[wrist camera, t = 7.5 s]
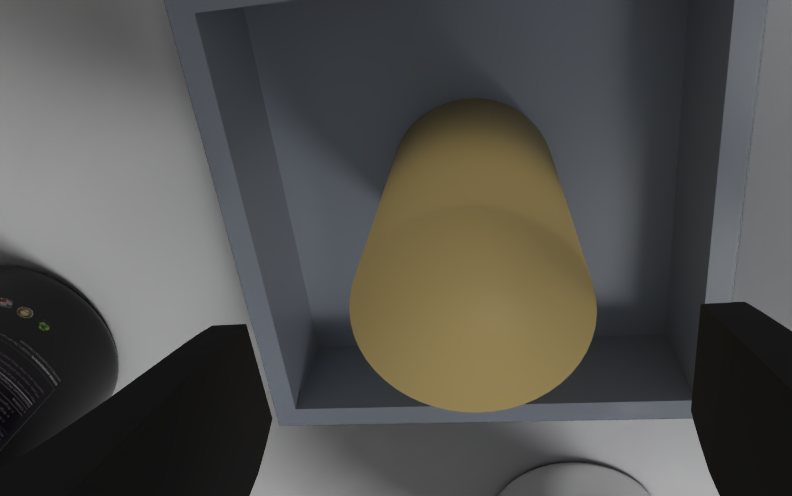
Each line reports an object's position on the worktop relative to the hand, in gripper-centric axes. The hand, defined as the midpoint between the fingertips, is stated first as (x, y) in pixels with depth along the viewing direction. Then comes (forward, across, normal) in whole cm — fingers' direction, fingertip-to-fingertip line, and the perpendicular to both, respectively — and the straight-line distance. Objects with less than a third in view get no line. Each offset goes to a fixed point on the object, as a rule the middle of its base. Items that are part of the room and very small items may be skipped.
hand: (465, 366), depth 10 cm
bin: (+9, 0, 0) cm, 9 cm away
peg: (+8, 0, 0) cm, 8 cm away
